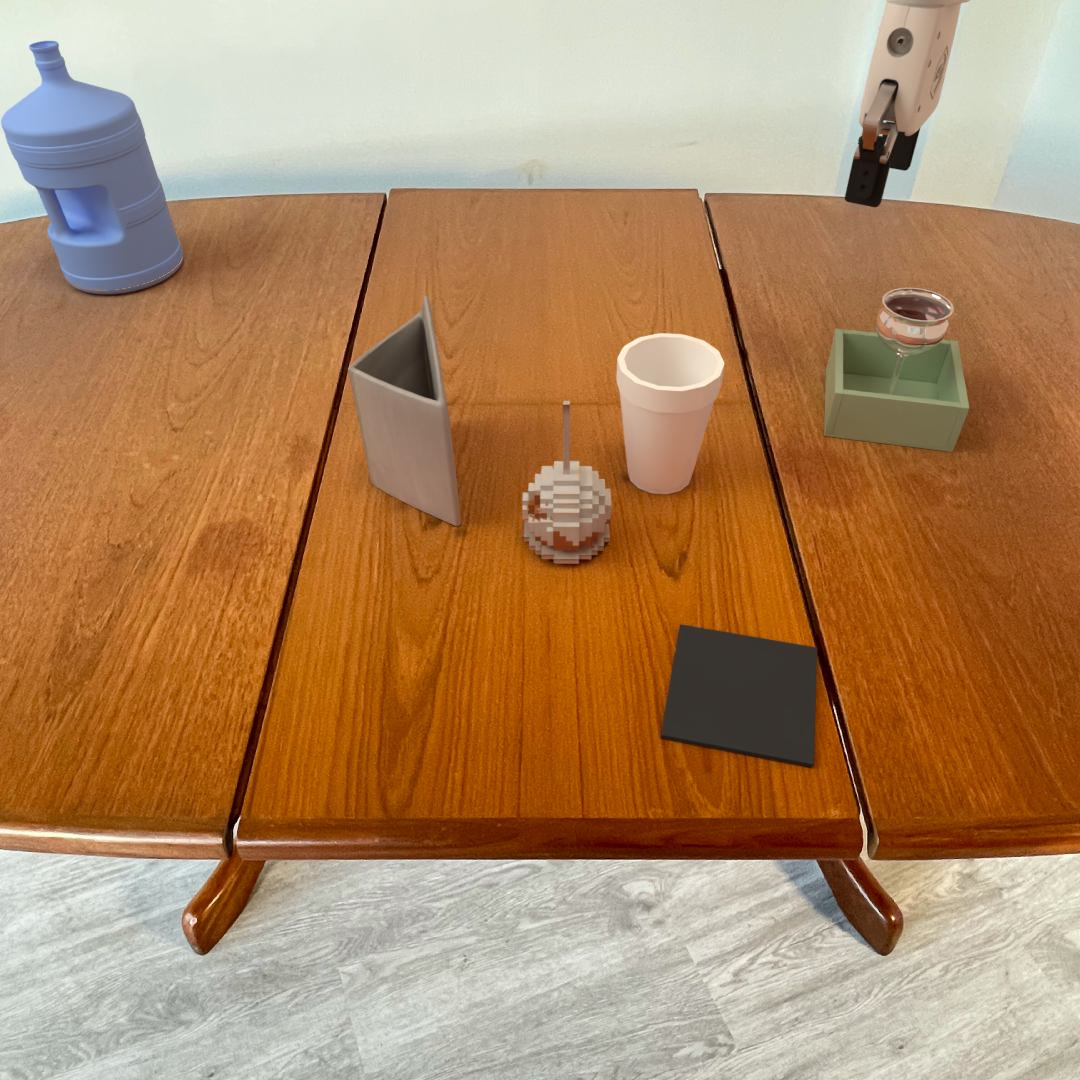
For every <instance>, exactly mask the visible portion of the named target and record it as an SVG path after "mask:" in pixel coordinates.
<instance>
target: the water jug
mask: <svg viewBox="0 0 1080 1080" xmlns="http://www.w3.org/2000/svg"><path fill="white" fill-rule="evenodd" d="M28 48H29V50H30V52H31V53H32V55H33V57H34V64H35V67H36V68H37V70H38V72H39V74H40V78H41V84H40V85H39V86H38V87H36V88H35V89H34V90H33V91H32V92H30V93H28V94H27V95H26V96H25V97H23V98H21V99H20V100H19V101H18V102H16V103H15V104H14V105H13V106H11V107H10V108H9V109H7V110H6V111H5V112H4V114H3V115H2V117H1V120H0V124H1V128H2V130H3V132H4V138H5V140H6V143H7V146H8V147H9V150H10V152H11V154H12V156H13V158H14V160H15V161H16V163H17V165H18V168H19V170H20V173H21V175H22V177H23V179H24V181H25V182H26V183H28V184H29V185H31V186H32V187H34V188H35V189H36V191H37V193H38V195H39V198H40V200H41V202H42V205H43V206H44V210H45V212H46V214H47V217H48V219H49V221H50V223H49V225H48V226H47V236H48V238H49V241H50V243H51V246H52V248H53V250H54V251H55V252H54V253H55V254H56V257H57V260H58V262H59V268H60V270H61V272H62V275H63V277H64V278H66V279H67V280H68V281H69V282H70V283H72V284H74V285H76V286H79V287H82V288H87V289H99V290H108V291H96V290H87V289H82V288H78V287H76V286H73V285H72V284H70V283H69V282H68V281H67V280H66V279H65V280H66V281H67V283H68V284H69V285H70V286H72V287H73V288H75V289H76V290H79V291H82V292H84V293H89V294H95V295H119V294H126V293H127V294H128V293H132V292H137V291H140V290H144V289H147V288H150V287H152V286H155V285H158V284H159V283H161V282H164V281H165V280H166V279H168V278H170V277H171V276H173V275H174V274H175V273H176V272H177V271H178V270H179V268H180V267H181V266H182V264H183V261H184V250H183V247H182V244H181V241H180V238H179V237H178V235H177V231H176V228H175V226H174V223H173V219H172V216H171V213H170V210H169V207H168V204H167V199H166V194H165V191H164V188H163V183H162V182H161V179H160V178H159V176H158V173H157V169H156V166H155V162H154V160H153V157H152V155H151V151H150V148H149V145H148V142H147V139H146V132H145V128H144V125H143V123H142V119H141V117H140V114H139V113H138V110H137V108H136V105H135V102H134V101H133V99H132V98H131V97H130V96H128V94H127V95H126V94H125V93H123V92H120V91H116V90H113V89H109V88H105V87H101V86H98V85H94V84H90V83H87V82H83V81H79V80H75V79H73V78H72V77H71V76H70V74H69V71H68V69H67V65H66V60H65V58H64V57H63V56H62V55H61V52H60V49H59V48H60V44H59V42H58V41H56V40H42V41H41V40H40V41H37V42H32V43H31V44H29V45H28ZM182 257H183V259H182ZM181 259H182V261H181ZM180 261H181V263H180ZM179 263H180V264H179ZM178 264H179V265H178ZM177 265H178V266H177ZM176 266H177V267H176ZM175 267H176V268H175ZM174 268H175V269H174ZM172 269H174V270H173V271H171V270H172ZM170 271H171V272H170ZM168 272H170V273H168ZM167 273H168V274H167ZM165 274H166V275H165ZM163 275H165V276H163ZM162 276H163V277H162ZM159 277H161V278H159ZM158 278H159V279H158ZM155 279H156V280H155ZM152 280H154V281H152ZM150 281H152V282H150ZM147 282H149V283H147ZM143 283H146V284H143ZM142 284H143V285H142ZM137 285H139V286H137ZM134 286H135V287H134ZM128 287H131V288H128ZM122 288H126V289H122ZM115 289H119V290H115Z"/></svg>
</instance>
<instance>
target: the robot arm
mask: <svg viewBox="0 0 1080 1080" xmlns="http://www.w3.org/2000/svg"><path fill="white" fill-rule="evenodd" d="M970 1H971V0H886V1H885V2H886V3H885V7H884V8H883V9H884V10H883V14H882V17H881V19H880V20H881V21H880V25H879V27H878V32H877V36H876V40H875V44H874V47H873V51H872V56H871V60H870V64H869V68H868V73H867V77H866V81H865V85H864V89H863V95H862V100H861V105H860V110H859V116H858V117H859V118H858V122H859V125H860V126H861V128H862V131H861V135H860V136H859V137H858V140H857V145H856V148H855V150H854V153H853V154H854V155H853V158H852V162H851V166H850V172H849V176H848V179H847V185H846V190H845V193H844V201H845V202H846V203H851V204H856V205H861V206H865V207H870V208H879V206H880V205H881V203H882V202H883V201H882V200H883V197H884V193H885V189H886V186H887V185H886V184H887V180H888V176H889V172H890V169H893V170H899V171H903V172H904V171H908V170H909V169H910V167H911V165H912V161H913V157H914V154H915V151H916V146H917V142H918V139H919V135H920V131H921V128H922V127H923V125H924V124H925V123H926V122H927V121H928V120H929V118H930V117H931V116H932V114H933V113H934V112H935V111H936V109H937V107H938V105H939V102H940V100H941V95H942V91H943V86H944V83H945V78H946V73H947V70H948V65H949V60H950V57H951V53H952V48H953V44H954V39H955V36H956V31H957V27H958V22H959V16H960V12H961V6H962V4H963V3H968V2H970ZM884 121H886V122H884Z"/></svg>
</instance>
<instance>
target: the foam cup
mask: <svg viewBox="0 0 1080 1080" xmlns="http://www.w3.org/2000/svg"><path fill="white" fill-rule="evenodd" d="M616 359H617V360H616V375H615V377H616V378H615V380H616V381H615V382H616V385H617V388H618V391H619V392H618V393H619V398H620V399H619V401H620V410H621V420H622V431H623V439H624V440H623V441H624V451H625V461H626V468H627V475H628V478H629V482H631V483H632V484H633V485H634V486H635V487H636V488H637V489H639V490H642V491H643V492H647V493H649V494H654V495H655V494H656V495H671V494H675V493H678V492H681V491H682V490H683V489H685V488H686V487H688V486H689V485H690V483H691V480H692V476H693V474H694V470H695V468H696V464H697V461H698V458H699V454H700V451H701V447H702V445H703V441H704V438H705V435H706V431H707V427H708V424H709V420H710V417H711V414H712V411H713V407H714V404H715V401H716V400H717V399H718V397H719V393H720V390H721V388H722V385H723V379H724V370H725V364H726V363H725V361H724V359H723V357H722V355H721V352H720V351H719V349H717V348H715V347H714V346H713V345H711V344H710V343H708V342H707V341H705V340H703V339H701V338H698V337H695V336H694V337H693V336H691V335H686V334H684V333H666V332H665V333H664V332H659V333H654V334H649V335H644V336H639V337H637V338H635V339H633V340H632V341H630V342H628V343H627V344H625V345H623V347H622V348H621V351H620V353H619V354H618V356H617V357H616Z"/></svg>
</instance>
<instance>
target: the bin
mask: <svg viewBox="0 0 1080 1080" xmlns="http://www.w3.org/2000/svg"><path fill="white" fill-rule="evenodd" d="M960 352H961V351H960V346H959V341H958V340H951V339H942V341H941V342H940V343H939V344H938V345H937V346H936V347H934V348H933V349H931V350H929V351H926V352H924V353H922V354H918V355H909V356H908V357H905V360H904V363H903V366H902V369H901V371H900V374H899V377H898V380H897V382H896V385H895V388H894V391H893V393H892V394H894V395H888V394H880V393H881V392H883V393H888V392H889V388H890V384H891V380H892V376H893V372H894V368H895V364H896V360H897V356H898V355H896V353H895V352H893V351H891V350H890V349H888V348H887V347H886V346H885V345H884V343H883V342H882V341H881V340H880V338H879V336H878V335H877V332H874V331H864V330H855V329H845V328H835V331H834V334H833V339H832V343H831V347H830V352H829V356H828V358H827V363H826V368H825V386H824V389H825V390H824V391H825V392H824V424H823V425H824V427H823V428H824V429H823V431H824V432H823V436H824V437H830V438H836V439H837V438H838V439H845V440H852V441H860V442H870V443H877V444H884V445H893V446H901V447H909V448H917V449H924V450H932V451H939V452H949V453H953V452H954V450H955V447H956V445H957V442H958V439H959V437H960V434H961V432H962V429H963V427H964V425H965V421H966V418H967V416H968V414H969V411H970V403H969V398H968V392H967V386H966V381H965V374H964V370H963V369H964V368H963V364H962V357H961V353H960Z"/></svg>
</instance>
